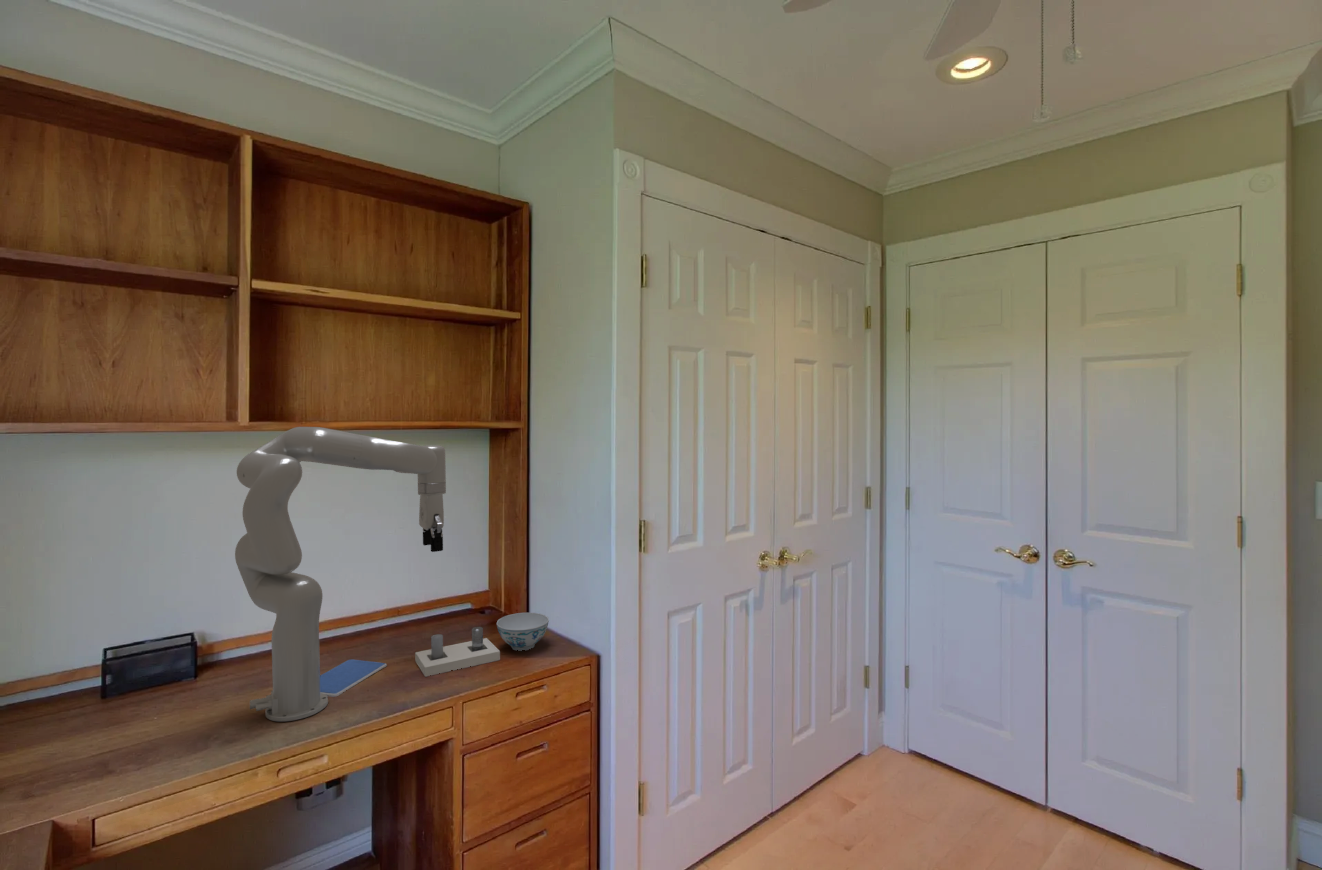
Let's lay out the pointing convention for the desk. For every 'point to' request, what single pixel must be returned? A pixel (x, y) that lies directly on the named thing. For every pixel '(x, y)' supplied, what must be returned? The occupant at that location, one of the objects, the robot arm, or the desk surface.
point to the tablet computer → (347, 676)
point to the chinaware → (522, 629)
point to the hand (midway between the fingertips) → (432, 547)
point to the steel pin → (477, 639)
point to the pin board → (453, 656)
